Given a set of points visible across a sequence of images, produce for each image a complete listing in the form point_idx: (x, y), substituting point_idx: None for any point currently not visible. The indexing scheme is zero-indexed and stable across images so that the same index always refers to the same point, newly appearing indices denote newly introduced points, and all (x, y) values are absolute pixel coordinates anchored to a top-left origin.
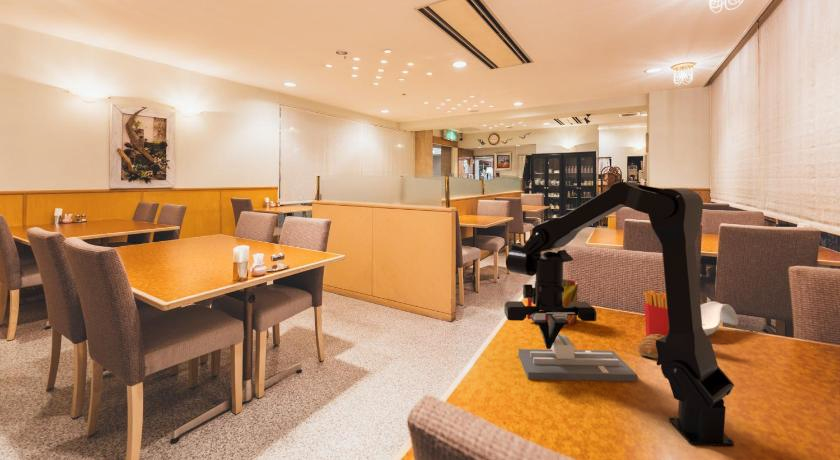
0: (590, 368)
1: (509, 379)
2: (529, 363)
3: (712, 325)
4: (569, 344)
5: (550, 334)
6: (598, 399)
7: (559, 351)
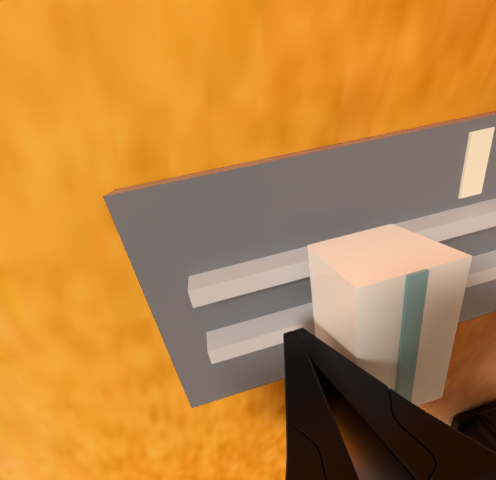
0: None
1: (128, 405)
2: (191, 347)
3: None
4: (422, 395)
5: (355, 456)
6: None
7: None
